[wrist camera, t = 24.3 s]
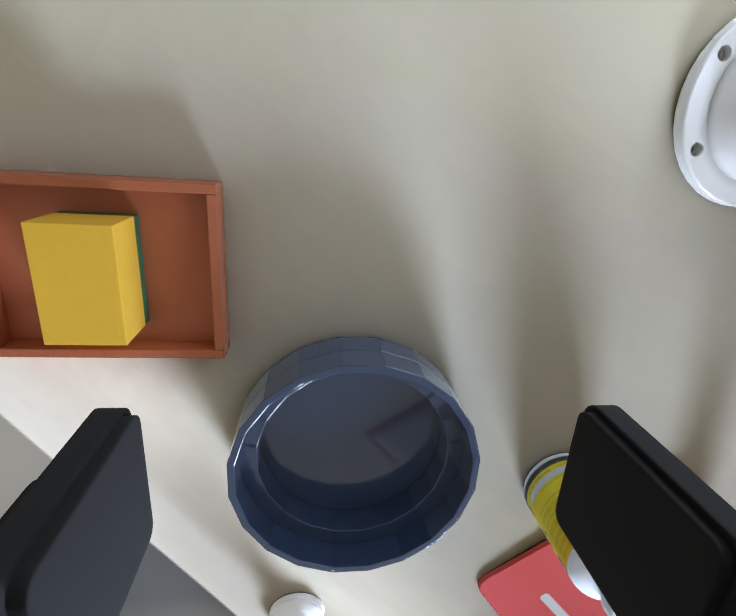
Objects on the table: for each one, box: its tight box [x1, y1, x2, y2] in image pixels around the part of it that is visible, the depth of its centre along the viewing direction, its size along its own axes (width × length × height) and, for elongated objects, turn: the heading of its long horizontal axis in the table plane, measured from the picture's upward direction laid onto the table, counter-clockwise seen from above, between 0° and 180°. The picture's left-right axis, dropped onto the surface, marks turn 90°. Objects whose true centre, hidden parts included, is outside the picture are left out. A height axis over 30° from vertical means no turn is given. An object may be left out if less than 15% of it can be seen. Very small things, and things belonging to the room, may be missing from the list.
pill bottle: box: [524, 453, 616, 616], centre depth 34 cm, size 6×6×12 cm
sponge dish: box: [0, 170, 229, 358], centre depth 29 cm, size 11×14×2 cm
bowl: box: [227, 337, 480, 572], centre depth 34 cm, size 17×17×5 cm
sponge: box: [21, 211, 150, 345], centre depth 27 cm, size 7×4×4 cm, turn 176°
